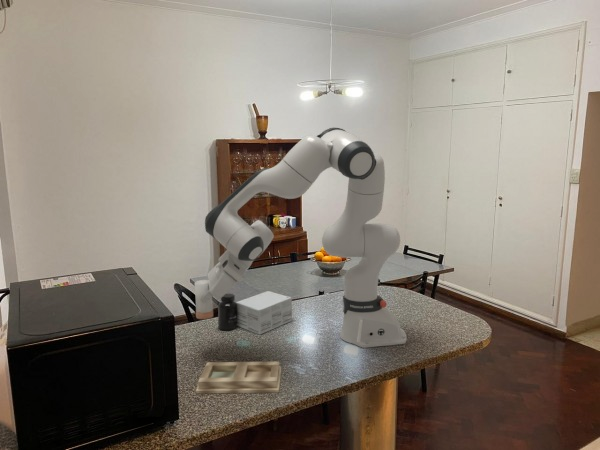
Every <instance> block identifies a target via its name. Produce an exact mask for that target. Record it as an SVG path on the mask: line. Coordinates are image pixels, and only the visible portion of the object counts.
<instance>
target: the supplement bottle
mask: <svg viewBox="0 0 600 450" xmlns="http://www.w3.org/2000/svg"><path fill="white" fill-rule="evenodd" d="M235 297H236V296H235V294H233V293H226V294H225V295H224V296H223V297H222V298H220V302H219V303H218V304H217V305H218V307H217V311H218V313H217V316H218V317H217V319H218V321H217V322H218V323H217V325H218V328H219V329H220V330H224V331H231V330H235V329H236V328H237V327H238V326H237V303H236V302H237V301H235V300H236V298H235Z"/></svg>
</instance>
